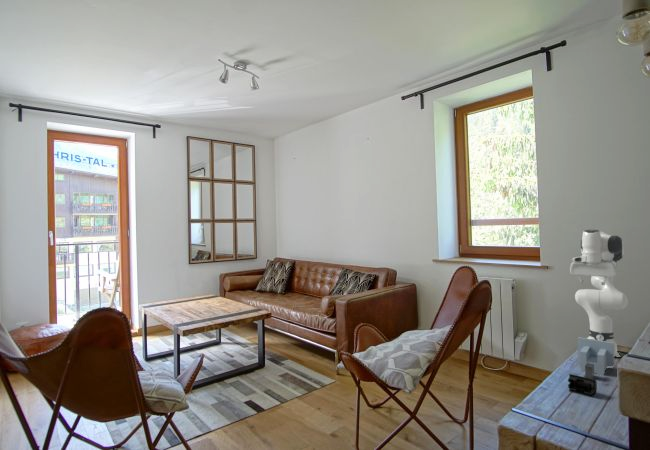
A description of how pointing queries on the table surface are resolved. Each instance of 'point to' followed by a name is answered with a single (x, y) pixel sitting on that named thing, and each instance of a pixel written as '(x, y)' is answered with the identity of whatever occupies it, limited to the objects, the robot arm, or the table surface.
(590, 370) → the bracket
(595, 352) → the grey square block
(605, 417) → the table surface
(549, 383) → the table surface
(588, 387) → the end cap
